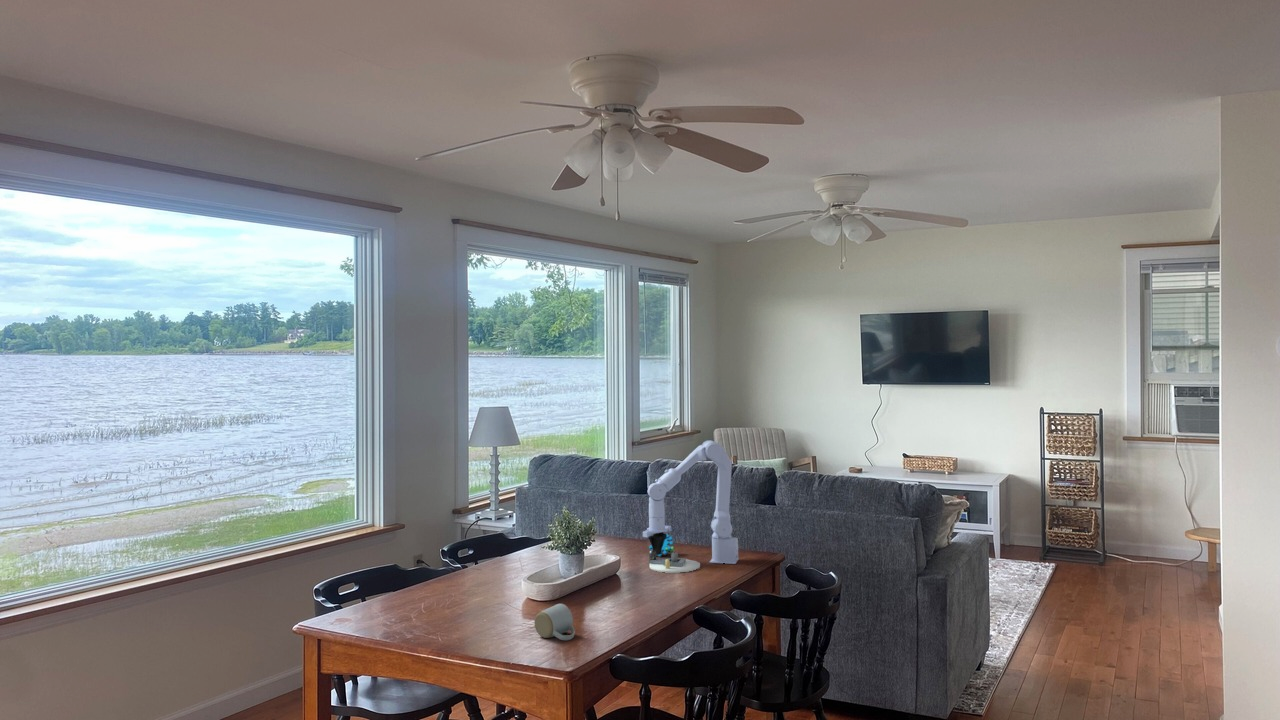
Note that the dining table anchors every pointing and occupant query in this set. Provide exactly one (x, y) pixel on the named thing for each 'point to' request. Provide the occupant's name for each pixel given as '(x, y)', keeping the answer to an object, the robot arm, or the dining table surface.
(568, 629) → the ceramic mug
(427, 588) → the dining table surface
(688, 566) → the base plate
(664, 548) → the gear
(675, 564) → the crank handle
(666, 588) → the dining table surface
